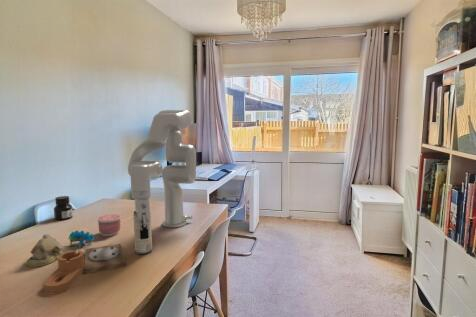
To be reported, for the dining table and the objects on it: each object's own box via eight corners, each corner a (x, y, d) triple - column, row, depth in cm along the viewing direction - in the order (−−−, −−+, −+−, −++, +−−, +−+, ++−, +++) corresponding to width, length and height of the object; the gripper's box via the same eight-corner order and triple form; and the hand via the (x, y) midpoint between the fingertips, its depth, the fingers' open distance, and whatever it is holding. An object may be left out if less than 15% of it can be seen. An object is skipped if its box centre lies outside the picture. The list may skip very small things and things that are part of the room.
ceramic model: (42, 252, 133) (40, 229, 132) (69, 251, 133) (67, 228, 132) (21, 267, 119) (18, 242, 118) (51, 267, 119) (49, 241, 118)
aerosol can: (154, 247, 136) (152, 202, 134) (149, 254, 130) (147, 206, 127) (138, 247, 136) (136, 202, 134) (132, 253, 130) (130, 206, 127)
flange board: (120, 246, 138) (120, 240, 138) (125, 265, 120) (125, 258, 120) (85, 252, 132) (84, 245, 132) (84, 273, 114) (84, 265, 114)
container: (113, 238, 148) (112, 221, 147) (93, 236, 150) (92, 220, 150) (125, 230, 159) (124, 214, 158) (106, 228, 161) (106, 213, 160)
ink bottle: (66, 220, 173) (65, 199, 172) (50, 220, 173) (49, 199, 172) (76, 215, 183) (74, 195, 181) (60, 215, 183) (59, 195, 182)
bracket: (65, 268, 118) (64, 250, 118) (88, 267, 119) (87, 250, 118) (38, 294, 101) (36, 274, 100) (65, 293, 101) (64, 273, 100)
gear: (99, 237, 144) (87, 228, 136) (95, 250, 140) (83, 241, 133) (76, 240, 146) (63, 230, 138) (73, 252, 142) (59, 243, 134)
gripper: (154, 197, 123) (156, 241, 126) (146, 188, 139) (148, 227, 141) (134, 200, 120) (136, 244, 123) (128, 190, 136) (130, 230, 138)
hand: (143, 235), depth 132 cm, fingers closed on aerosol can, 6 cm apart
